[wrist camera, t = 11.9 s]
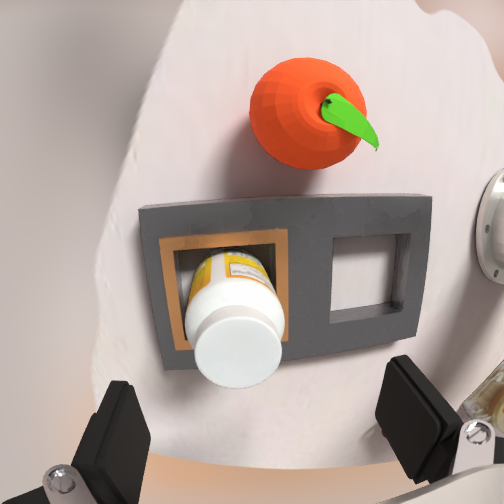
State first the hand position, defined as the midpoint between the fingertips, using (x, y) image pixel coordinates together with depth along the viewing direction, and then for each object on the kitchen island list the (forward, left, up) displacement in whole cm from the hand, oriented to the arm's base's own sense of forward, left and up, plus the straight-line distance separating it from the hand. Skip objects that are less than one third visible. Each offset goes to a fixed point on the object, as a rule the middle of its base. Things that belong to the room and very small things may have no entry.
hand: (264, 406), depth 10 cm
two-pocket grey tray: (-4, 0, -13) cm, 14 cm away
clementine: (-5, -11, -13) cm, 18 cm away
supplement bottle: (+1, 0, -13) cm, 13 cm away
